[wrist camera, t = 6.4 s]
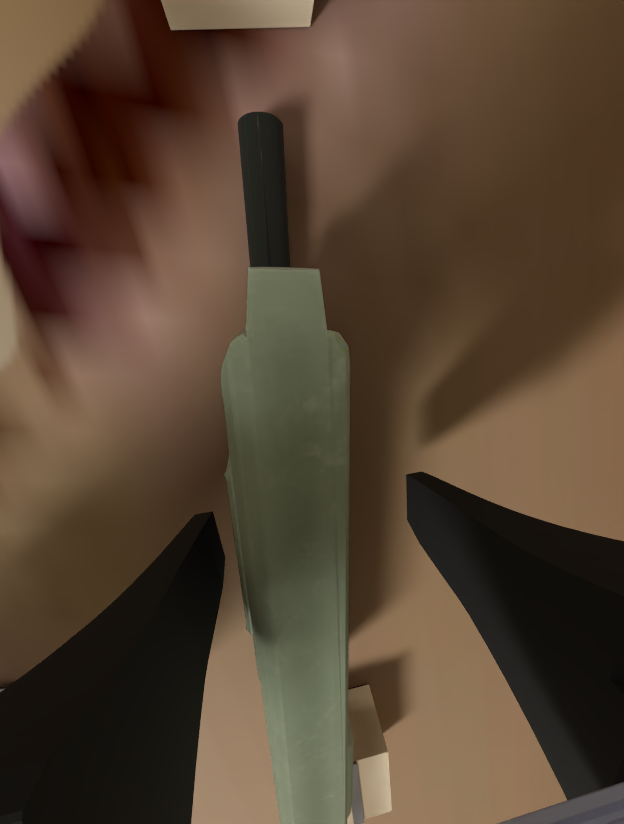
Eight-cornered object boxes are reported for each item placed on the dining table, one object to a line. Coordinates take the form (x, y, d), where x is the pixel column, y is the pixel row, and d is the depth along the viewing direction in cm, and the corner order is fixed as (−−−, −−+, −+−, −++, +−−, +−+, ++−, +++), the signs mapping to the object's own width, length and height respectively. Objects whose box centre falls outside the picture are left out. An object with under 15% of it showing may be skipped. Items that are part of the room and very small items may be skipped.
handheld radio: (267, 674, 17) (203, 142, 9) (322, 661, 18) (306, 148, 10) (275, 882, 11) (103, -219, 3) (361, 850, 11) (396, -147, 4)
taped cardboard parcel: (316, 757, 20) (325, 834, 17) (96, -342, 6) (-48, -901, 3) (374, 741, 20) (392, 813, 17) (278, -323, 7) (288, -807, 4)
